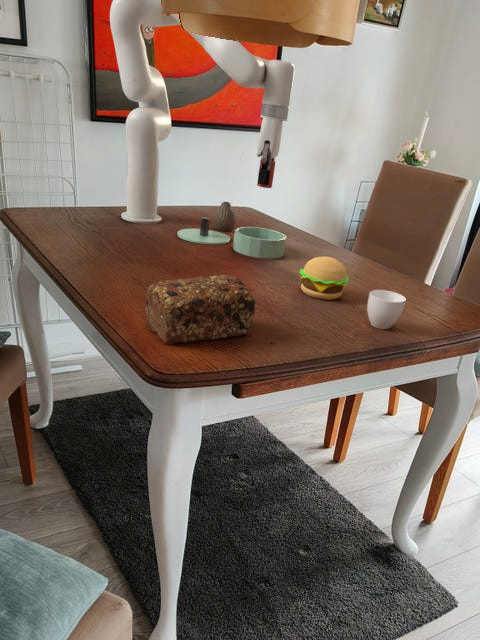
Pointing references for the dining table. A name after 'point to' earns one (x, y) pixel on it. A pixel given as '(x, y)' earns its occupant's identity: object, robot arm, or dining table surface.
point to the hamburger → (324, 278)
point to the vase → (224, 217)
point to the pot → (259, 242)
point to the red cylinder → (270, 175)
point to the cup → (384, 308)
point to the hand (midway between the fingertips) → (264, 182)
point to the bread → (200, 308)
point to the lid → (204, 234)
